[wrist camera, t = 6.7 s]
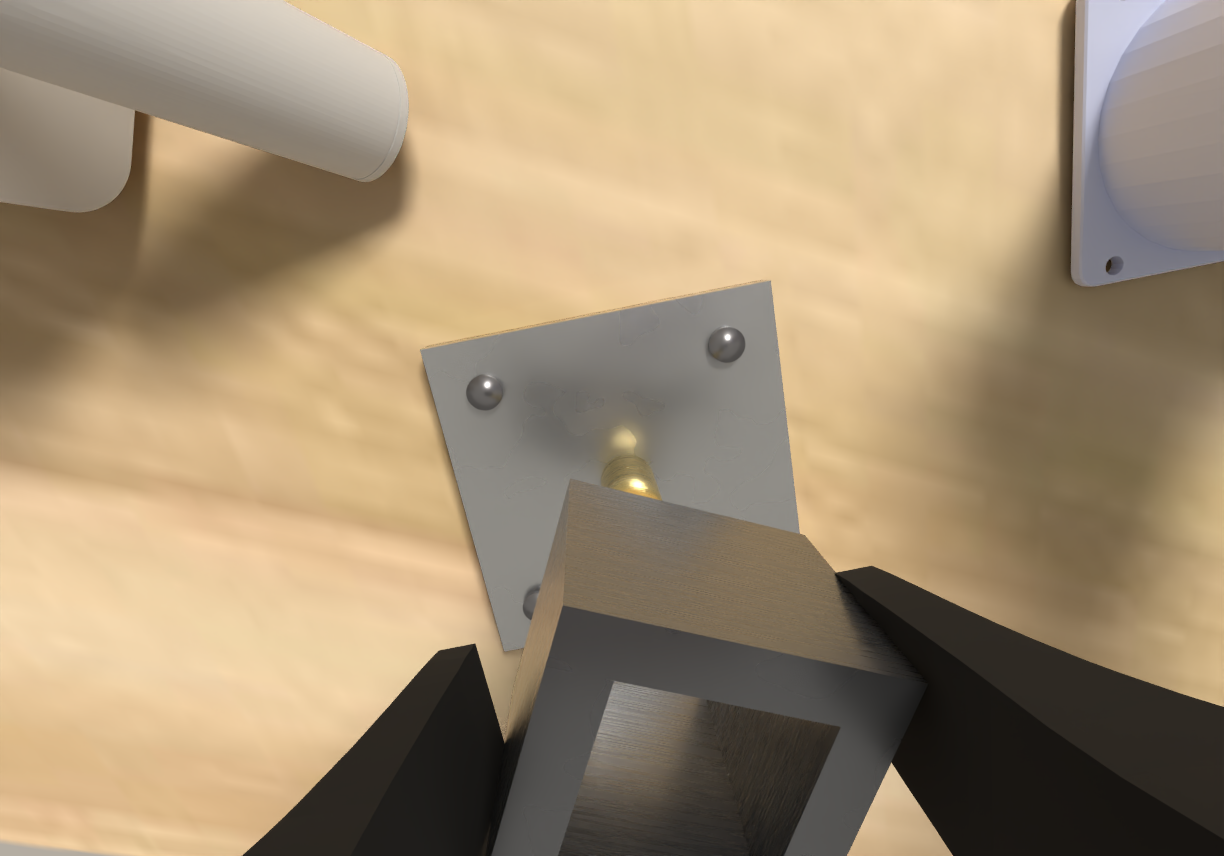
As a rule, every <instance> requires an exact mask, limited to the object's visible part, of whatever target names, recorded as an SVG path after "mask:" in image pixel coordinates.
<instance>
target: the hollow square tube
mask: <svg viewBox="0 0 1224 856" xmlns="http://www.w3.org/2000/svg"><path fill="white" fill-rule="evenodd" d="M835 573H836V572H835V571H834V570H833V569H832V568H831V566H830V565H829V564H828V563H827V562H826V560H825V559H824V558H823V557H822V556H821V554H820V553H819V552H818V551H817V549H816V548H815V547H814V546H813V545H812V543H811V542H810V541H809V540H808V539H807V537H806V536H805V535H802V534H798V533H794V532H790V531H786V530H781V529H777V528H773V527H769V526H765V525H761V524H757V523H752V522H748V521H744V520H740V519H736V518H732V517H728V516H723V515H719V514H715V513H711V512H707V511H703V510H699V509H694V508H690V507H686V506H682V505H678V504H674V503H670V502H665V501H661V500H657V499H653V498H649V497H645V496H641V495H636V494H632V493H628V492H624V491H620V490H616V489H612V488H607V487H603V486H599V485H595V484H591V483H587V482H583V481H578V480H574V479H570V481H569V484H568V488H567V492H566V495H565V499H564V503H563V506H562V510H561V514H560V517H559V521H558V525H557V528H556V532H555V536H554V539H553V543H552V547H551V550H550V554H549V558H548V561H547V565H546V569H545V572H544V576H543V580H542V584H541V587H540V591H539V595H538V598H537V602H536V606H535V609H534V613H533V617H532V620H531V624H530V628H529V631H528V635H527V639H526V642H525V646H524V650H523V653H522V657H521V661H520V664H519V668H518V672H517V675H516V679H515V683H514V686H513V691H512V697H511V704H510V710H509V716H508V722H507V728H506V734H505V740H504V749H503V755H502V761H501V767H500V773H499V779H498V785H497V791H496V797H495V803H494V808H493V814H492V819H491V825H490V831H489V837H488V843H487V849H486V856H847V854H848V852H849V850H850V848H851V846H852V844H853V842H854V839H855V837H856V835H857V833H858V831H859V829H860V827H861V825H862V823H863V821H864V818H865V816H866V814H867V812H868V810H869V808H870V806H871V804H872V802H873V799H874V797H875V795H876V793H877V791H878V789H879V787H880V785H881V783H882V780H883V778H884V776H885V774H886V772H887V770H888V768H889V766H890V764H891V762H892V759H893V757H894V755H895V753H896V751H897V749H898V747H899V745H900V743H901V740H902V738H903V736H904V734H905V732H906V730H907V728H908V726H909V724H910V722H911V719H912V717H913V715H914V713H915V711H916V709H917V707H918V705H919V703H920V700H921V698H922V696H923V694H924V692H925V690H926V688H927V686H928V683H927V682H926V681H925V680H924V678H923V677H922V676H921V675H920V674H919V672H918V671H917V670H916V669H915V668H914V666H913V665H912V664H911V663H910V662H909V660H908V659H907V658H906V657H905V656H904V654H903V653H902V652H901V651H900V650H899V648H898V647H897V646H896V645H895V644H894V642H893V641H892V640H891V639H890V637H889V636H888V635H887V634H886V633H885V631H884V630H883V629H882V628H881V627H880V625H879V624H878V623H877V622H876V621H875V620H874V619H873V618H872V617H871V616H870V615H869V614H868V613H867V612H866V611H865V610H864V609H863V607H862V606H861V605H860V604H859V602H858V601H857V600H856V599H855V598H854V596H853V595H852V594H851V593H850V592H849V590H848V589H847V588H846V587H845V585H844V584H843V583H842V582H841V581H840V579H839V578H838V577H837V576H836V575H835Z"/></svg>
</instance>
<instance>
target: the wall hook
mask: <svg viewBox="0 0 1224 856" xmlns="http://www.w3.org/2000/svg"><path fill="white" fill-rule="evenodd" d="M408 109H409V101H408V91H407V86H406V82H405V79H404V76H403V73H402V71H401V69H400V68H399V66H398V65H397V63H396V62H395V61H394V60H393V59H392V58H390V57H389V56H387V55H385V54H383V53H381V52H379V51H377V50H375V49H374V48H372V47H370V46H368V45H366V44H364V43H362V42H360V41H359V40H357V39H355V38H353V37H351V36H349V35H347V34H345V33H344V32H342V31H340V30H338V29H336V28H334V27H332V26H330V25H328V24H327V23H325V22H323V21H321V20H319V19H317V18H315V17H313V16H312V15H310V14H308V13H306V12H304V11H302V10H300V9H298V8H297V7H295V6H293V5H291V4H289V3H287V2H285V1H283V0H0V202H3V203H10V204H17V205H24V206H31V207H38V208H45V209H52V210H59V211H67V212H76V213H78V212H89V211H93V210H96V209H99V208H101V207H103V206H105V205H107V204H109V203H110V202H111V201H113V200H114V199H115V198H116V197H117V196H118V195H119V194H120V192H121V191H122V190H123V188H124V186H125V184H126V182H127V180H128V177H129V174H130V170H131V161H132V147H133V132H134V117H135V110H136V111H139V112H142V113H145V114H148V115H151V116H155V117H158V118H161V119H164V120H167V121H170V122H174V123H177V124H180V125H183V126H186V127H189V128H193V129H196V130H199V131H202V132H205V133H208V134H212V135H215V136H218V137H221V138H224V139H227V140H231V141H234V142H237V143H240V144H243V145H246V146H250V147H253V148H256V149H259V150H262V151H265V152H268V153H272V154H275V155H278V156H281V157H284V158H287V159H291V160H294V161H297V162H300V163H303V164H306V165H310V166H313V167H316V168H319V169H322V170H325V171H329V172H332V173H335V174H338V175H341V176H344V177H348V178H351V179H354V180H357V181H360V182H370V181H373V180H375V179H377V178H379V177H380V176H382V175H383V174H384V173H385V172H386V171H387V170H388V169H389V167H390V166H391V165H392V163H393V162H394V160H395V158H396V157H397V155H398V153H399V151H400V148H401V146H402V143H403V140H404V136H405V132H406V128H407V121H408Z"/></svg>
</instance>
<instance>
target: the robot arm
mask: <svg viewBox="0 0 1224 856" xmlns="http://www.w3.org/2000/svg"><path fill="white" fill-rule="evenodd" d="M1109 259H1111V263H1112V265H1111V269H1110V270H1109V271H1108V272H1106V268H1105V267H1106V263H1107V262H1108V260H1109ZM1222 261H1224V0H1076V25H1075V78H1074V131H1073V185H1072V238H1071V276H1072V279H1073V281H1074V282H1075V284H1078V285H1080V286H1101V285H1106V284H1111V283H1116V282H1121V281H1126V280H1131V279H1136V278H1141V277H1146V276H1151V275H1156V274H1161V273H1166V272H1171V271H1177V270H1182V269H1187V268H1192V267H1197V266H1202V265H1207V264H1212V263H1217V262H1222ZM835 575H836V576H837V577H838V578H839V579H840V581H841V582H842V583H843V584H844V585H845V587H846V588H847V589H848V590H849V592H850V593H851V594H852V595H853V596H854V598H855V599H856V600H857V601H858V602H859V604H860V605H861V606H862V607H863V609H864V610H865V611H866V612H867V613H868V614H869V615H870V616H871V617H872V618H873V619H874V620H875V621H876V622H877V623H878V624H879V625H880V627H881V628H882V629H883V630H884V631H885V633H886V634H887V635H888V636H889V637H890V639H891V640H892V641H893V642H894V644H895V645H896V646H897V647H898V648H899V650H900V651H901V652H902V653H903V654H904V656H905V657H906V658H907V659H908V660H909V662H910V663H911V664H912V665H913V666H914V668H915V669H916V670H917V671H918V672H919V674H920V675H921V676H922V677H923V678H924V680H925V681H926V682H927V683H928V686H927V688H926V690H925V692H924V694H923V696H922V698H921V700H920V703H919V705H918V707H917V709H916V711H915V713H914V715H913V717H912V719H911V722H910V724H909V726H908V728H907V730H906V732H905V734H904V736H903V738H902V740H901V743H900V745H899V747H898V749H897V751H896V753H895V755H894V757H893V759H892V764H893V765H894V767H895V768H896V770H897V772H898V773H899V775H900V776H901V778H902V779H903V781H904V782H905V784H906V785H907V787H908V788H909V790H910V791H911V793H912V794H913V796H914V797H915V799H916V800H917V802H918V803H919V805H920V806H921V808H922V809H923V811H924V812H925V814H926V815H927V817H928V818H929V820H930V821H931V823H932V824H933V826H934V827H935V829H936V830H937V832H938V833H939V835H940V836H941V838H942V840H943V841H944V843H945V844H946V846H947V847H948V849H949V850H950V852H951V853H952V855H953V856H1224V707H1222V706H1219V705H1215V704H1212V703H1209V702H1206V701H1202V700H1199V699H1196V698H1193V697H1189V696H1186V695H1183V694H1180V693H1177V692H1174V691H1171V690H1168V689H1165V688H1163V687H1160V686H1157V685H1154V684H1151V683H1148V682H1145V681H1142V680H1139V679H1136V678H1133V677H1130V676H1127V675H1124V674H1121V673H1119V672H1116V671H1113V670H1110V669H1108V668H1105V667H1102V666H1099V665H1097V664H1094V663H1091V662H1089V661H1086V660H1083V659H1081V658H1078V657H1076V656H1073V655H1071V654H1069V653H1066V652H1064V651H1061V650H1059V649H1056V648H1054V647H1051V646H1049V645H1046V644H1044V643H1041V642H1039V641H1036V640H1034V639H1032V638H1029V637H1027V636H1024V635H1022V634H1020V633H1018V632H1015V631H1013V630H1011V629H1008V628H1006V627H1004V626H1001V625H999V624H997V623H995V622H993V621H990V620H988V619H986V618H984V617H982V616H979V615H977V614H975V613H973V612H971V611H968V610H966V609H964V608H962V607H960V606H958V605H956V604H954V603H951V602H949V601H947V600H945V599H943V598H941V597H939V596H937V595H935V594H932V593H930V592H928V591H926V590H924V589H922V588H920V587H918V586H916V585H914V584H912V583H909V582H907V581H905V580H903V579H901V578H899V577H897V576H894V575H892V574H890V573H888V572H886V571H883V570H881V569H878V568H876V567H874V566H868V567H863V568H858V569H853V570H848V571H843V572H838V573H835ZM503 749H504V740H503V736H502V733H501V730H500V726H499V723H498V719H497V716H496V713H495V709H494V706H493V702H492V699H491V696H490V692H489V689H488V685H487V682H486V679H485V675H484V672H483V668H482V665H481V661H480V658H479V655H478V651H477V648H476V644H471V645H466V646H461V647H455V648H450V649H445V650H440V651H438V652H437V653H436V654H435V655H434V656H433V657H432V658H431V659H430V660H429V662H428V663H427V664H426V665H425V666H424V667H423V668H422V669H421V670H420V671H419V673H418V674H417V675H416V676H415V677H414V678H413V679H412V681H411V682H410V683H409V684H408V685H407V686H406V687H405V689H404V690H403V691H402V692H401V693H400V694H399V695H398V697H397V698H396V699H395V700H394V701H393V702H392V703H391V705H390V706H389V707H388V708H387V709H386V710H385V711H384V712H383V713H382V715H381V716H380V717H379V718H378V719H377V720H376V721H375V722H374V724H373V725H372V726H371V727H370V728H369V729H368V730H367V731H366V732H365V734H364V735H363V736H362V737H361V738H360V739H359V740H358V741H357V743H356V744H355V745H354V746H353V747H352V748H351V749H350V750H349V751H348V752H347V753H346V754H345V755H344V756H343V757H342V758H341V759H340V760H339V761H338V762H337V764H336V765H335V766H334V767H333V768H332V769H331V770H330V771H329V772H328V773H327V774H326V775H325V776H324V777H323V778H322V779H321V780H320V781H319V782H318V783H317V784H316V785H315V786H314V787H313V788H312V789H311V790H310V791H309V793H308V794H307V795H306V796H305V797H304V798H303V799H302V800H301V801H300V802H299V803H298V804H297V805H296V806H295V807H294V808H293V809H292V810H291V811H290V812H289V813H288V814H287V815H286V816H285V817H284V818H283V819H282V820H280V821H279V822H278V823H277V824H276V825H275V826H274V827H273V828H272V829H271V830H270V831H269V832H268V833H267V834H266V835H265V836H264V837H262V838H261V839H260V840H259V841H258V842H257V843H256V844H255V845H254V846H253V847H251V848H250V849H249V850H248V851H247V852H246V853H245V854H244V855H243V856H486V849H487V843H488V837H489V831H490V825H491V819H492V814H493V808H494V803H495V797H496V791H497V785H498V779H499V773H500V767H501V761H502V755H503Z"/></svg>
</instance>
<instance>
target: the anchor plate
mask: <svg viewBox="0 0 1224 856" xmlns="http://www.w3.org/2000/svg"><path fill="white" fill-rule="evenodd" d="M420 351H421V355H422V359H423V362H424V366H425V369H426V373H427V376H428V380H429V384H430V387H431V391H432V394H433V398H434V402H435V405H436V409H437V412H438V416H439V419H440V423H441V427H442V430H443V434H444V437H445V441H446V445H447V448H448V452H449V455H450V459H451V462H452V466H453V470H454V473H455V477H456V480H457V484H458V488H459V491H460V495H461V498H462V502H463V505H464V509H465V513H466V516H467V520H468V523H469V527H470V531H471V534H472V538H473V541H474V545H475V548H476V552H477V556H478V559H479V563H480V566H481V570H482V574H483V577H484V581H485V584H486V588H487V591H488V595H489V599H490V602H491V606H492V609H493V613H494V617H495V620H496V624H497V627H498V631H499V634H500V638H501V642H502V645H503V649H504V652H505V651H510V650H515V649H520V648H524V646H525V642H526V639H527V635H528V631H529V628H530V624H531V620H532V617H533V613H534V609H535V606H536V602H537V598H538V595H539V591H540V587H541V584H542V580H543V576H544V572H545V569H546V565H547V561H548V558H549V554H550V550H551V547H552V543H553V539H554V536H555V532H556V528H557V525H558V521H559V517H560V514H561V510H562V506H563V503H564V499H565V495H566V492H567V488H568V484H569V481H570V479H574V480H578V481H583V482H587V483H591V484H595V485H599V486H603V487H607V488H612V489H616V490H620V491H624V492H628V493H632V494H636V495H641V496H645V497H649V498H653V499H657V500H661V501H665V502H670V503H674V504H678V505H682V506H686V507H690V508H694V509H699V510H703V511H707V512H711V513H715V514H719V515H723V516H728V517H732V518H736V519H740V520H744V521H748V522H752V523H757V524H761V525H765V526H769V527H773V528H777V529H781V530H786V531H790V532H794V533H798V534H800V532H799V523H798V514H797V505H796V497H795V488H794V479H793V471H792V462H791V453H790V444H789V436H788V427H787V418H786V410H785V401H784V392H783V383H782V375H781V366H780V357H779V348H778V340H777V331H776V322H775V314H774V305H773V296H772V287H771V281H769V280H760V281H755V282H750V283H745V284H740V285H735V286H729V287H724V288H719V289H714V290H709V291H704V292H699V293H694V294H689V295H684V296H679V297H674V298H669V299H664V300H659V301H654V302H649V303H644V304H639V305H633V306H628V307H623V308H618V309H613V310H608V311H603V312H598V313H593V314H588V315H583V316H578V317H573V318H568V319H563V320H558V321H553V322H548V323H542V324H537V325H532V326H527V327H522V328H517V329H512V330H507V331H502V332H497V333H492V334H487V335H482V336H477V337H472V338H467V339H462V340H457V341H452V342H446V343H441V344H436V345H431V346H427V347H425V348H423V349H421V350H420Z"/></svg>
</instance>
